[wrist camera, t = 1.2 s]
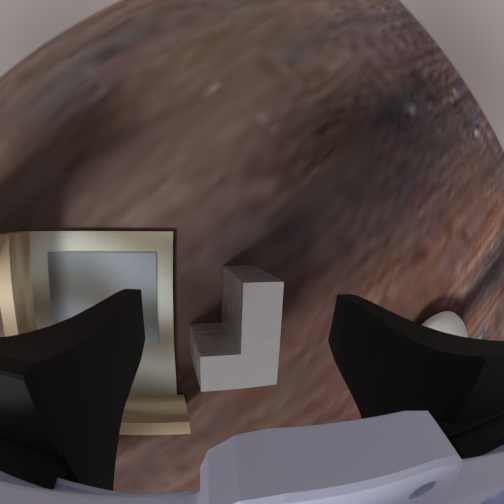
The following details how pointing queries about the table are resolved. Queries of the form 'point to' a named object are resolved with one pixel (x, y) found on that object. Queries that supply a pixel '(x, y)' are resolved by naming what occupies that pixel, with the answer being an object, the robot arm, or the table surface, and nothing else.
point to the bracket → (240, 333)
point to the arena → (94, 291)
